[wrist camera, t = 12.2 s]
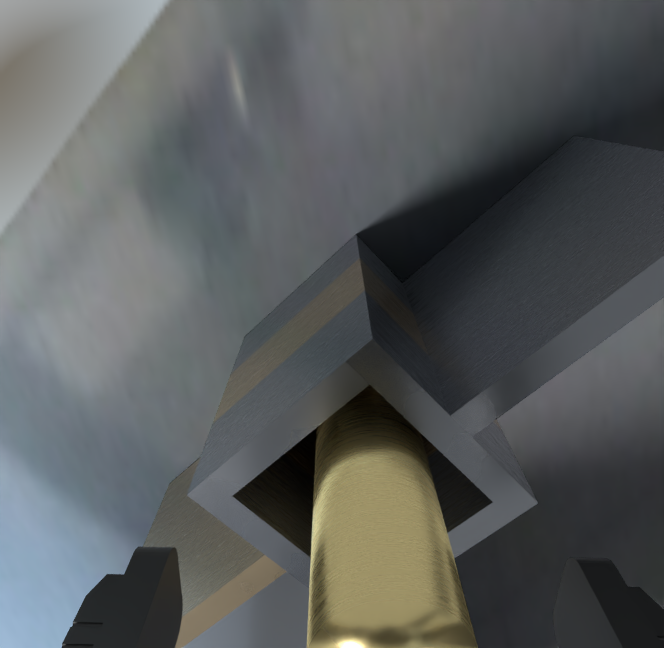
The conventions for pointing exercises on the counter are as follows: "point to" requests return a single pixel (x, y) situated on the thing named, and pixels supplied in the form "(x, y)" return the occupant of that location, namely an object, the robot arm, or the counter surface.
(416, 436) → the hinge pin
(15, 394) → the counter surface
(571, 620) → the robot arm
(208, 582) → the hinge
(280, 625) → the plastic bottle
